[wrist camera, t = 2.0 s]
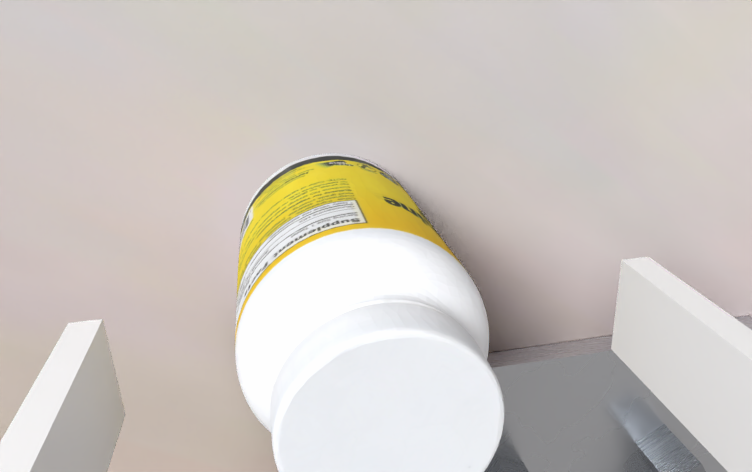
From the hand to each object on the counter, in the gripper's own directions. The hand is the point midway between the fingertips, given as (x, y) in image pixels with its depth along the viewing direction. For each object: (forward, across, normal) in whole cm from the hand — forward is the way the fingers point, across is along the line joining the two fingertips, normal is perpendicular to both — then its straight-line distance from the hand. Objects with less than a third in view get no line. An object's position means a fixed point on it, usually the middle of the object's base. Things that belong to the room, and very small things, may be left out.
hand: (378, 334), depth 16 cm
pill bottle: (+7, -1, 0) cm, 7 cm away
